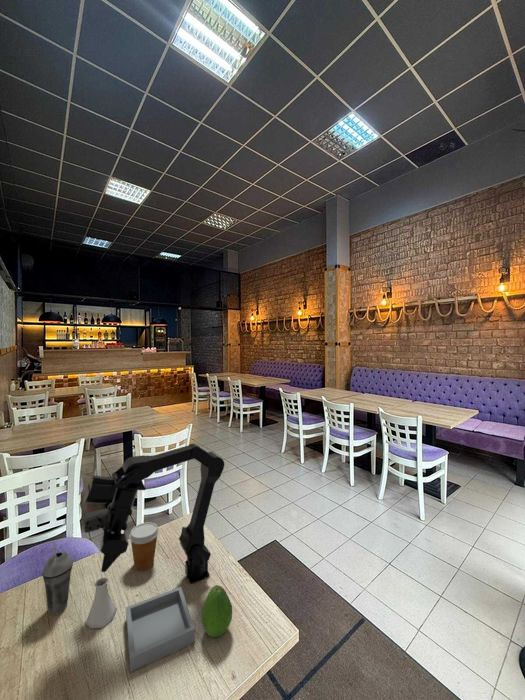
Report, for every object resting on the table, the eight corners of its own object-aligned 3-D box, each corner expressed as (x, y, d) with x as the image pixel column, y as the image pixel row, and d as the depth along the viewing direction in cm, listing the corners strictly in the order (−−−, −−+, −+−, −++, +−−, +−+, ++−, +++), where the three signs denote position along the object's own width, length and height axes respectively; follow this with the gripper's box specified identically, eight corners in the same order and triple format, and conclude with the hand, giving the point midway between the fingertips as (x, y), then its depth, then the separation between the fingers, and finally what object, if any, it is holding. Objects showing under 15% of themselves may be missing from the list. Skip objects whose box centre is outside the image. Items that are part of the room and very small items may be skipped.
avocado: (202, 649, 74) (202, 602, 74) (201, 621, 81) (201, 578, 81) (234, 642, 75) (234, 596, 75) (230, 615, 83) (230, 573, 83)
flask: (103, 632, 78) (103, 594, 78) (79, 627, 79) (79, 590, 79) (121, 608, 85) (121, 574, 85) (99, 604, 86) (99, 570, 86)
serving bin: (181, 598, 89) (181, 586, 89) (194, 642, 76) (194, 628, 75) (126, 619, 82) (126, 607, 82) (130, 672, 68) (130, 657, 68)
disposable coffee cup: (140, 578, 96) (140, 542, 96) (123, 567, 101) (123, 532, 101) (164, 561, 104) (164, 527, 104) (147, 550, 109) (147, 518, 109)
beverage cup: (78, 603, 87) (78, 535, 86) (52, 624, 80) (52, 550, 80) (63, 594, 90) (63, 528, 90) (36, 613, 83) (36, 543, 83)
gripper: (92, 487, 90) (73, 541, 87) (90, 517, 74) (67, 585, 71) (130, 491, 95) (113, 542, 92) (136, 519, 79) (116, 583, 76)
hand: (103, 561), depth 83 cm, fingers open, 9 cm apart
